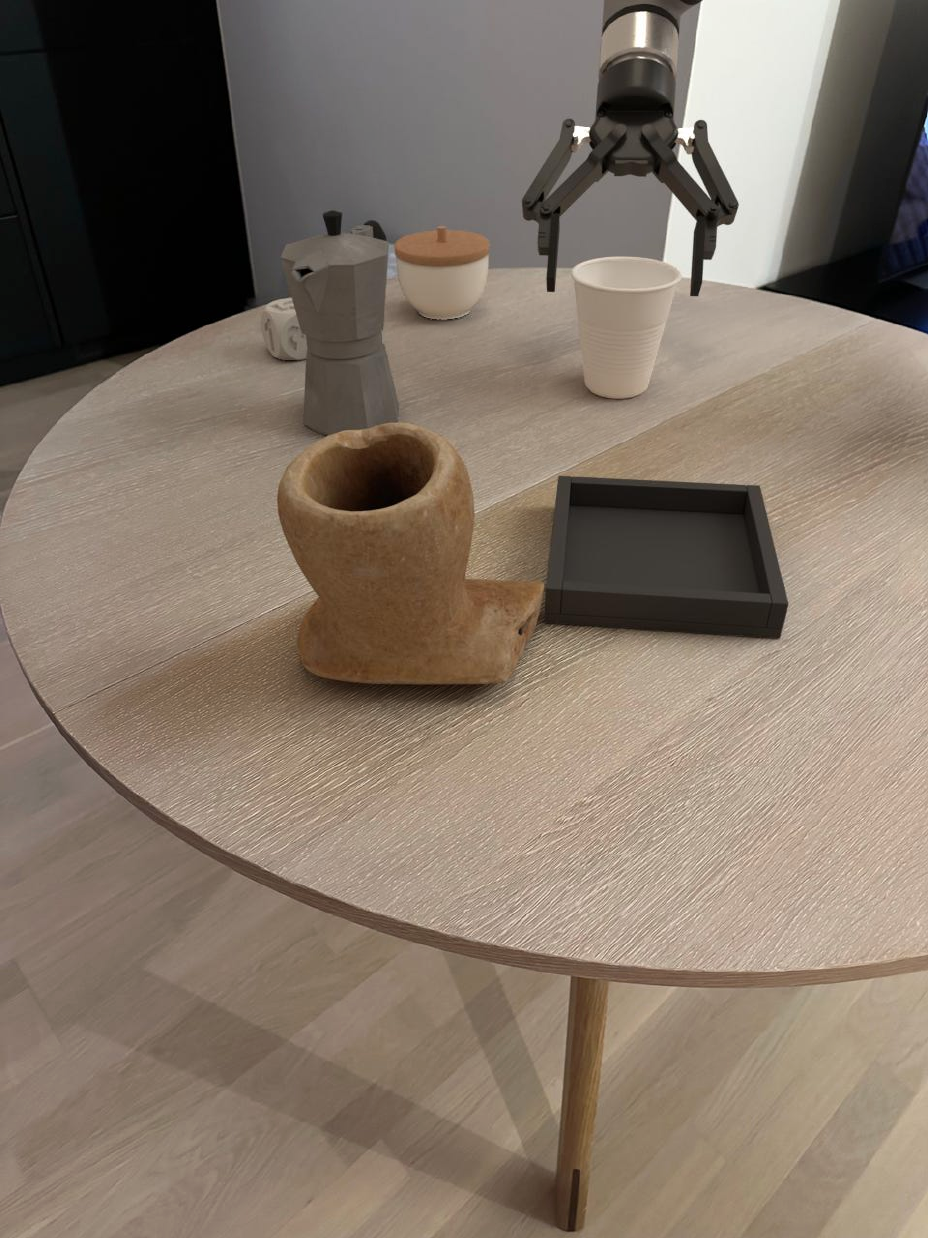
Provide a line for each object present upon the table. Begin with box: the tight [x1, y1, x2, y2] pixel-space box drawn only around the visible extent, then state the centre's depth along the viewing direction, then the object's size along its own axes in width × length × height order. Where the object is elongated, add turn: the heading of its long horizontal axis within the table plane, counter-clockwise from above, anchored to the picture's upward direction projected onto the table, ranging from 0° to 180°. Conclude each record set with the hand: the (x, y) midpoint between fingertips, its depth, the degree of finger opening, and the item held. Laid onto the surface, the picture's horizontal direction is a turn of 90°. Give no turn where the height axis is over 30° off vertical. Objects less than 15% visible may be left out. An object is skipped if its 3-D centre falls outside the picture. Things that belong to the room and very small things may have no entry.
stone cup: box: [276, 422, 546, 685], centre depth 53 cm, size 15×12×15 cm
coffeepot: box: [280, 209, 400, 436], centre depth 82 cm, size 15×9×18 cm, turn 159°
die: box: [260, 297, 307, 361], centre depth 98 cm, size 5×5×5 cm
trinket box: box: [393, 225, 491, 321], centre depth 106 cm, size 11×11×9 cm
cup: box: [570, 256, 683, 400], centre depth 87 cm, size 10×10×11 cm
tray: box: [543, 475, 789, 640], centre depth 65 cm, size 15×15×3 cm
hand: (622, 287), depth 88 cm, fingers open, 13 cm apart
